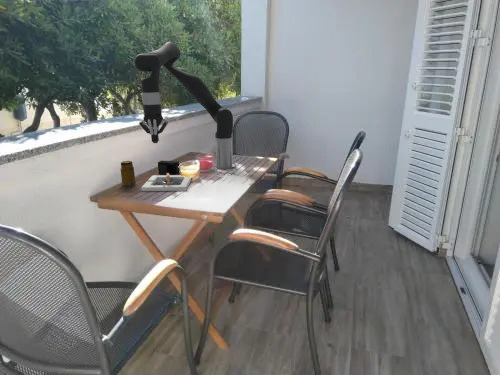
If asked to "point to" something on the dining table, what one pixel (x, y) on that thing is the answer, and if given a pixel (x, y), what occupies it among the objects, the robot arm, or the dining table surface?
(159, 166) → the digital camera
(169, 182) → the dial
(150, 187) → the panel
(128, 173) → the condiment
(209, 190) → the dining table surface
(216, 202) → the dining table surface
